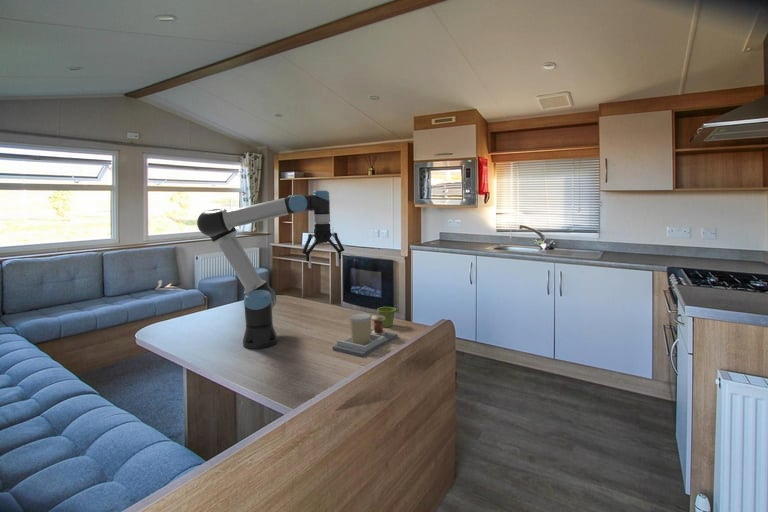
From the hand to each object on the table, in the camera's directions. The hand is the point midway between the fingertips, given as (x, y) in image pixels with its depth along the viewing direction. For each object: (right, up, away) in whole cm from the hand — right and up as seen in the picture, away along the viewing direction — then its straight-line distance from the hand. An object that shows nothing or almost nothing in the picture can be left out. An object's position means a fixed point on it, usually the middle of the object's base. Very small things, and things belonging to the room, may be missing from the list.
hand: (324, 267), depth 200 cm
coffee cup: (+19, -33, -18) cm, 42 cm away
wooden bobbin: (+27, -31, -7) cm, 41 cm away
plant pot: (+31, -30, +10) cm, 44 cm away
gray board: (+21, -34, -15) cm, 43 cm away
